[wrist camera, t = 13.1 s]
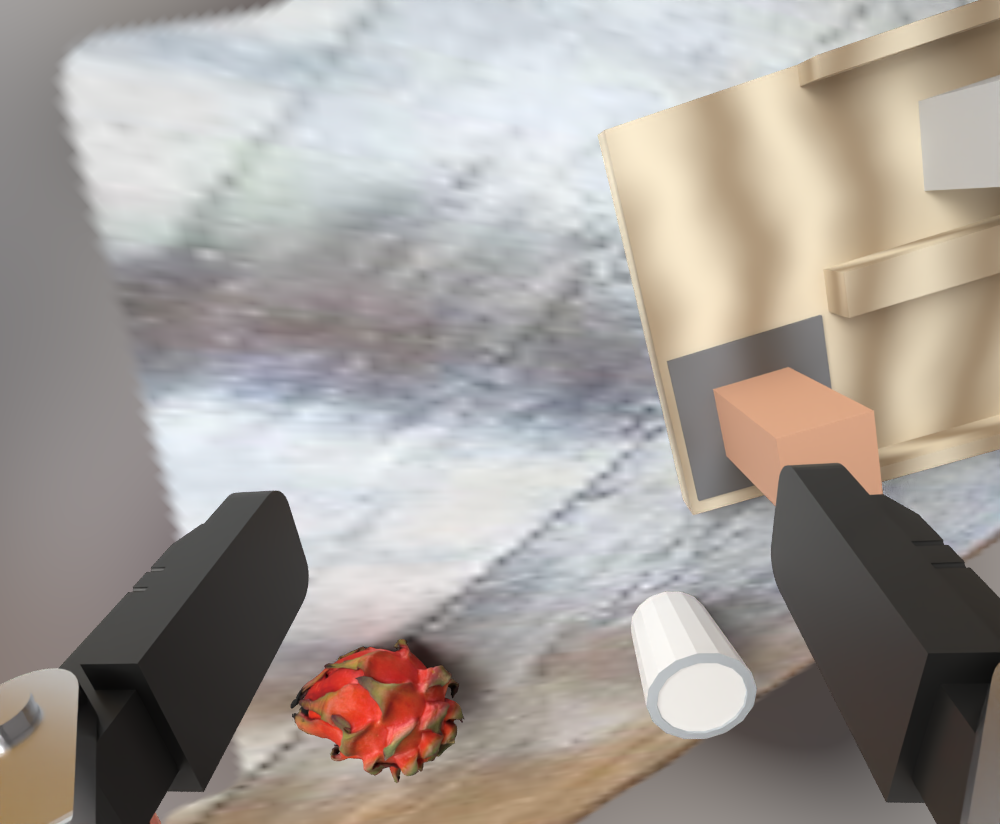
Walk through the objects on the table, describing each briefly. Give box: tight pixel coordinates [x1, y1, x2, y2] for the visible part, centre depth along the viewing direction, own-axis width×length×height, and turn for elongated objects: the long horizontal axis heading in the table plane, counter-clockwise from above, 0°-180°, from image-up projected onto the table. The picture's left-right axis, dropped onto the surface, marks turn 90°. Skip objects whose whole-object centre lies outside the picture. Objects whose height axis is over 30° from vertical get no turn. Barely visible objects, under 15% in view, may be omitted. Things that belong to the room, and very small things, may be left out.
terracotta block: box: [713, 367, 883, 506], centre depth 31 cm, size 4×4×8 cm
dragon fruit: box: [291, 639, 465, 783], centre depth 40 cm, size 8×8×12 cm
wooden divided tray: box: [598, 0, 1000, 515], centre depth 32 cm, size 24×24×5 cm
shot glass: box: [631, 592, 757, 739], centre depth 39 cm, size 7×7×7 cm
